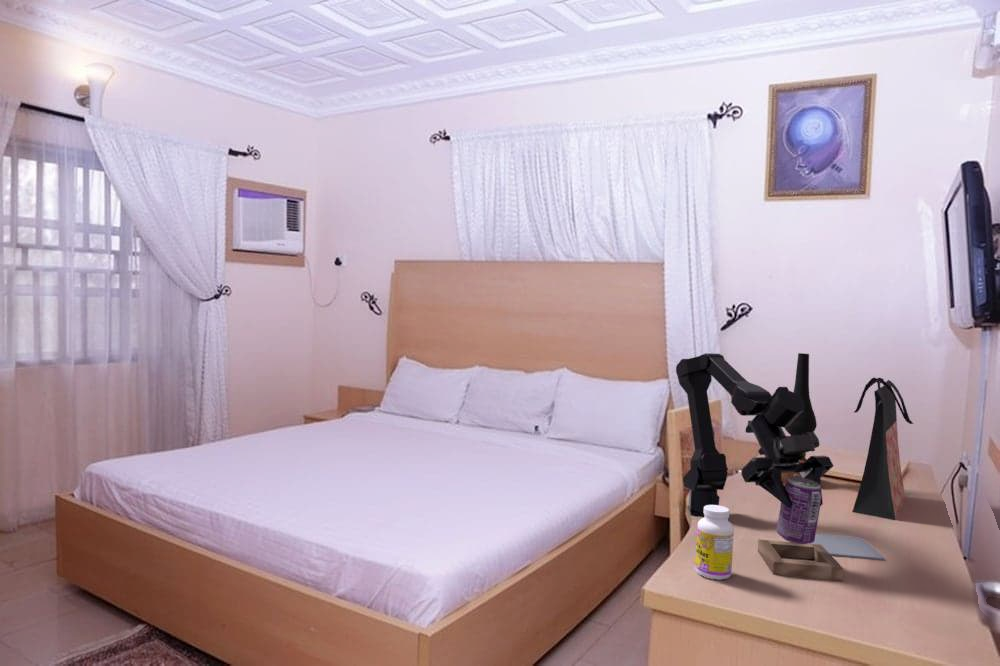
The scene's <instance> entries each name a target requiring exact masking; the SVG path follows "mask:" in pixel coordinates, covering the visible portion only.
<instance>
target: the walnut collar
mask: <svg viewBox="0 0 1000 666" xmlns="http://www.w3.org/2000/svg"><path fill="white" fill-rule="evenodd" d="M757 552H758V554H759V555H760V557H761V558H762V560H763V561H764V563H765V564H766V566H767V567H768V569H769V571H770V572H771V574H772V575H776V576H786V577H787V576H788V577H795V578H796V577H797V578H798V577H799V578H806V579H807V578H808V579H809V578H810V579H817V580H818V579H819V580H820V579H821V580H827V581H828V580H830V581H831V580H832V581H841V582H843V573H844V567H843V566H842V565H841V564H840V563H839V562H838V561H837V560H836V559H835V558H834V556H831V555H830V554H829V553H828V552H827V551H826V550H825V548H824V547H823V546H822V545H818V544H809V543H808V544H796V543H792V542H789V541H782V540H781V541H780V540H769V539H760V538H759V539H757ZM782 557H783V558H782ZM785 557H788V558H790V559H787V558H786V559H785ZM791 558H797V559H791ZM798 559H799V560H798ZM800 559H807V560H800ZM810 560H811V561H810ZM812 560H813V561H812Z"/></svg>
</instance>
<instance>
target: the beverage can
mask: <svg viewBox="0 0 1000 666" xmlns="http://www.w3.org/2000/svg"><path fill="white" fill-rule="evenodd" d="M787 481H788V482H787V483H786V484H784V486H785V488H786V490H787V493H788V495H789V497H790V499H791V502H792V507H791V508H788V507H786V506H785V505H784V504H783V503H782V502H780V508H779V514H778V520H777V526H776V533H777V534H778V535H779V536H780V537H782V539H784V540H785V541H786V542H792V543H796V544H809V543H812V542H814V540H815V534H817V528H818V522H819V521H818V520H819V516H820V515H819V514H820V509H821V506H822V505H821V499H822V500H823V494H822V484H821V485H820V484H818V483H817V482H815V481H812V480H809V479H805V478H800V477H789V478H788V480H787ZM820 488H821V490H820ZM820 505H821V506H820Z"/></svg>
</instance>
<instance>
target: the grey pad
mask: <svg viewBox="0 0 1000 666" xmlns="http://www.w3.org/2000/svg"><path fill="white" fill-rule="evenodd" d="M808 544H818V545H822V546H823V547H824V548H825V550H826V551H827V552H828V553H829V554H830V555H831V556H832V557H844V558H845V557H846V558H853V559H867V560H878V561H886V557H884V556H883V555H882V554H881V553H880V552H879V551H878V550H876V549H875V548H874V547H873V546H871V545H870V543H868V542H867V541H866V540H865V539H863V537H859V536H850V535H838V534H828V533H827V534H824V533H816V534H815V540H814V542H812V543H808Z"/></svg>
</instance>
